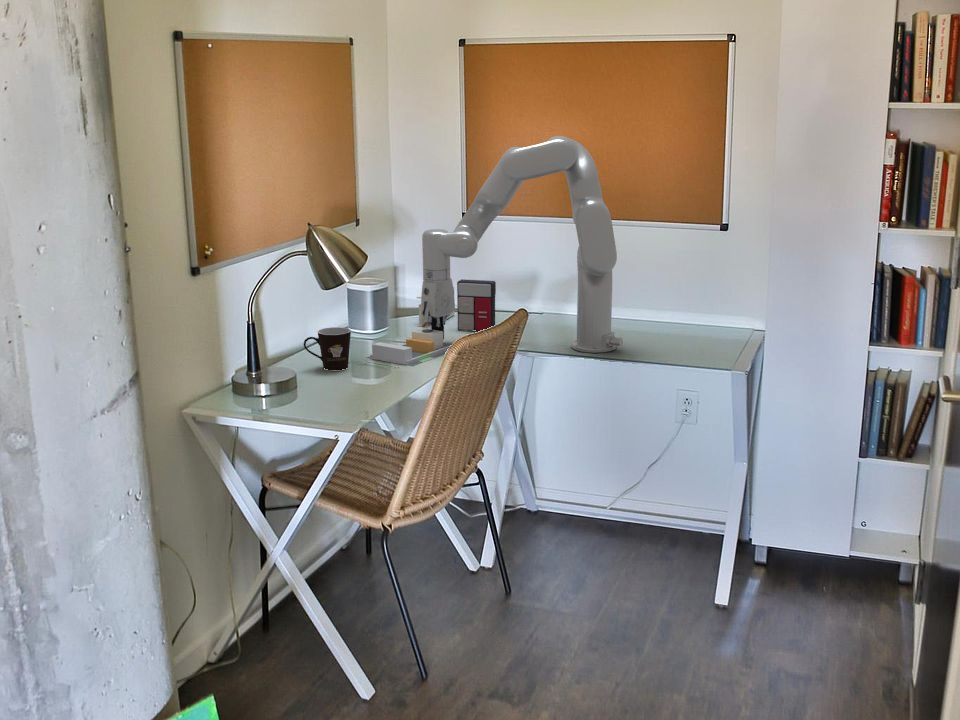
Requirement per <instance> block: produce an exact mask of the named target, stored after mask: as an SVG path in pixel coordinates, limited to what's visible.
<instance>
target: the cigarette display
mask: <svg viewBox="0 0 960 720" xmlns="http://www.w3.org/2000/svg"><path fill="white" fill-rule="evenodd" d="M453 289H454V290H455V286H453ZM421 295H422V293H421V294H419V295H417V296H416V299H420V300H421ZM455 311H456V310H454V312H453V313H451V314H450V316H448V317H447V318H446V320H447V319H449V318H451V317H452V316H455V315H456V314H455ZM454 314H455V315H454ZM424 317H425V316H423V315H422V310H421V303H420V304H418V325H417V326H416V327H417V328H428V327H431V326H430V323H429V322H425V321H424Z"/></svg>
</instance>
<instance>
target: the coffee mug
mask: <svg viewBox="0 0 960 720" xmlns="http://www.w3.org/2000/svg"><path fill="white" fill-rule="evenodd" d="M351 335H352V330H351V329H350V328H348V327H342V326H341V327H340V326H339V327H338V326H335V327H334V326H332V327H325V328H321V329H318V330H317V337H314V336H309V337H307V338H305V339H304V340H303V347H304V349H305V351H307V352H308V353H309V354H311V355H313V356H315V357H316V358H318V359H320V361H322V362H321V363H322V366H323V367H322V368H323V369H324V368H325V369H328V370H342V369H346V368H349V359H350V349H351V347H350V346H351V345H350V344H351ZM309 340H314V341H316V343H317V344H318V345H319V347H320V348H319V349H320V355H319V354H316V353H314V352H312V351H311V350H310V349H308V347H307V346H306V344H307V342H308V341H309ZM346 370H347V369H346ZM342 371H343V370H342Z"/></svg>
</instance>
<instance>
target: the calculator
mask: <svg viewBox="0 0 960 720" xmlns="http://www.w3.org/2000/svg"><path fill="white" fill-rule="evenodd" d="M456 285H457V287H456V292H457V295H456V296H457V299H456V301H457V303H456V304H457V330H458V331H460V330H476V331H480V330H483V329H487V328H489V327H491V326H494V325H495V326H496V294H497V293H496V290H497V289H496V288H497V287H496V285H497V283H496V281H495V280H480V279H465V278H463V279H460V280H458V281H457V282H456ZM476 331H475V332H476Z"/></svg>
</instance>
